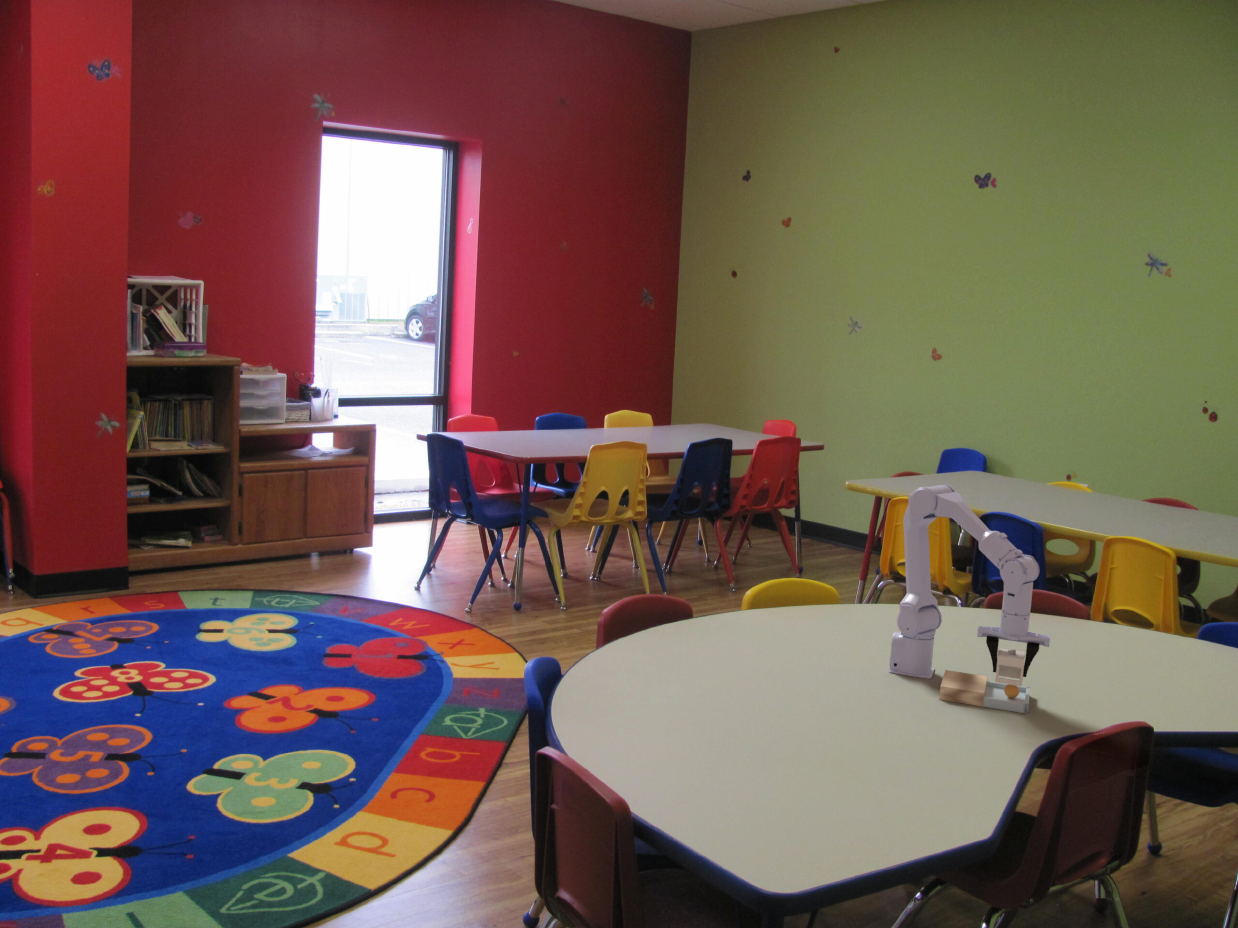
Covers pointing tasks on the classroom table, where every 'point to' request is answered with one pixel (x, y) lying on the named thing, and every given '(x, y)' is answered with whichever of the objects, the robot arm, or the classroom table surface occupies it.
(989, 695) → the tray
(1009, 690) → the ball
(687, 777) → the classroom table surface
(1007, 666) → the small drawer with knob
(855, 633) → the classroom table surface
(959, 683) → the board
